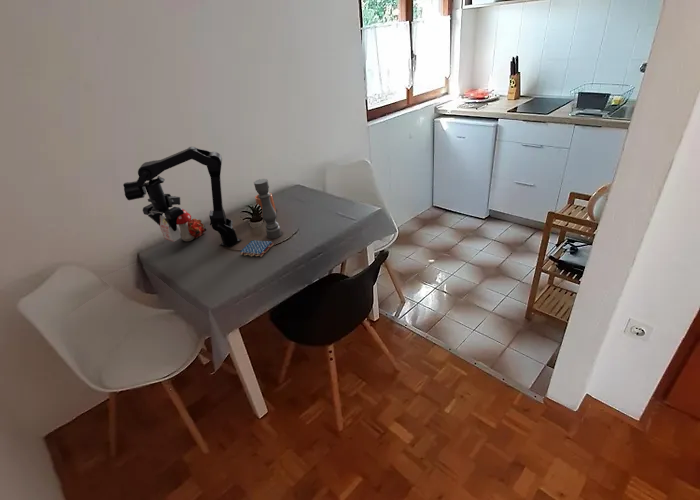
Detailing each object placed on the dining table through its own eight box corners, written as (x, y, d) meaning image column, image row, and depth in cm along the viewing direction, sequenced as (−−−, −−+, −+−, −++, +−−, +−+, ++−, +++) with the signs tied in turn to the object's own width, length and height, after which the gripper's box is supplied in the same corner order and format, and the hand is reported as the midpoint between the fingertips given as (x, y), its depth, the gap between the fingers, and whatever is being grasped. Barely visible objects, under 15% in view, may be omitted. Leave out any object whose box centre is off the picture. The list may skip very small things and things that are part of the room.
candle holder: (268, 233, 184) (254, 180, 172) (281, 230, 184) (268, 177, 172) (266, 239, 179) (252, 185, 167) (281, 237, 179) (267, 182, 167)
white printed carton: (172, 234, 177) (164, 213, 172) (181, 237, 173) (173, 216, 168) (164, 238, 175) (156, 217, 170) (173, 241, 171) (165, 220, 166)
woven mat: (262, 257, 165) (260, 253, 164) (240, 256, 169) (238, 251, 168) (274, 244, 174) (273, 240, 173) (253, 243, 178) (252, 239, 177)
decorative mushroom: (202, 237, 190) (191, 207, 182) (185, 245, 185) (173, 215, 177) (191, 232, 196) (181, 203, 189) (174, 240, 191) (163, 210, 184)
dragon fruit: (197, 233, 199) (203, 245, 190) (179, 229, 193) (185, 241, 185) (204, 217, 196) (210, 229, 188) (186, 213, 191) (192, 225, 182)
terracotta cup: (279, 210, 205) (275, 193, 201) (268, 217, 200) (264, 199, 195) (267, 208, 210) (262, 191, 205) (256, 215, 204) (251, 198, 199)
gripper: (187, 189, 165) (199, 223, 173) (158, 185, 175) (171, 218, 182) (164, 200, 157) (178, 236, 165) (135, 195, 167) (149, 230, 174)
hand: (169, 229), depth 172 cm, fingers closed on white printed carton, 7 cm apart
